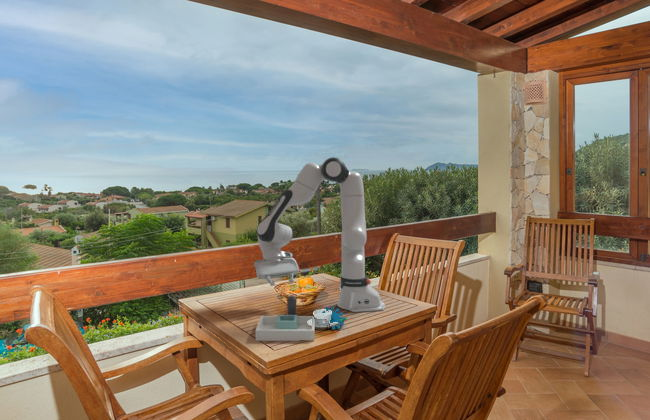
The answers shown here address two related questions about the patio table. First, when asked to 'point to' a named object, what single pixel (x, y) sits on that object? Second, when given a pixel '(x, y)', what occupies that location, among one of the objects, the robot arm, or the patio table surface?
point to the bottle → (291, 305)
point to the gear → (336, 317)
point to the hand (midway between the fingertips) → (282, 283)
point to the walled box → (285, 328)
